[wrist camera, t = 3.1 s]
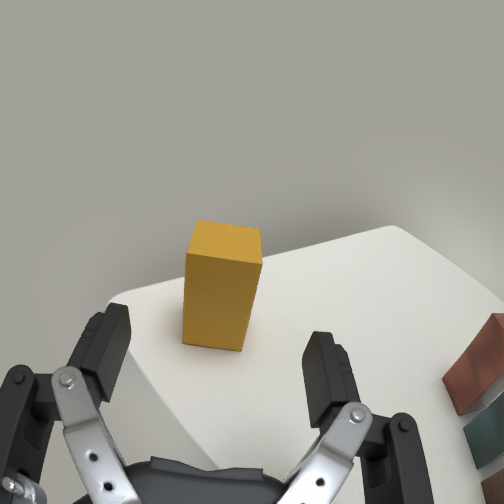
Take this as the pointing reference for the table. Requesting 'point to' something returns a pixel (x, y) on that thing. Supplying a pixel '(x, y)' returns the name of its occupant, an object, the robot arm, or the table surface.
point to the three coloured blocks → (483, 399)
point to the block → (220, 284)
